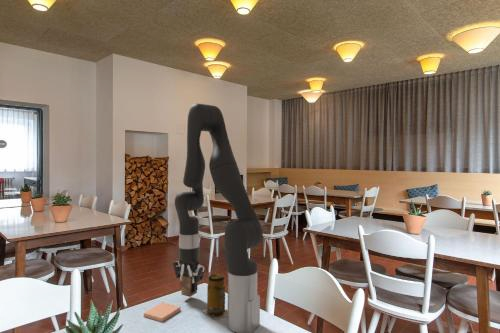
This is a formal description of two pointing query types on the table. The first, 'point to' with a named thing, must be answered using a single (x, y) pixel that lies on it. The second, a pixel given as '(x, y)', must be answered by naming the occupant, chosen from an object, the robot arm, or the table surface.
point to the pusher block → (186, 285)
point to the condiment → (216, 297)
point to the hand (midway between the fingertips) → (189, 290)
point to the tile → (162, 311)
